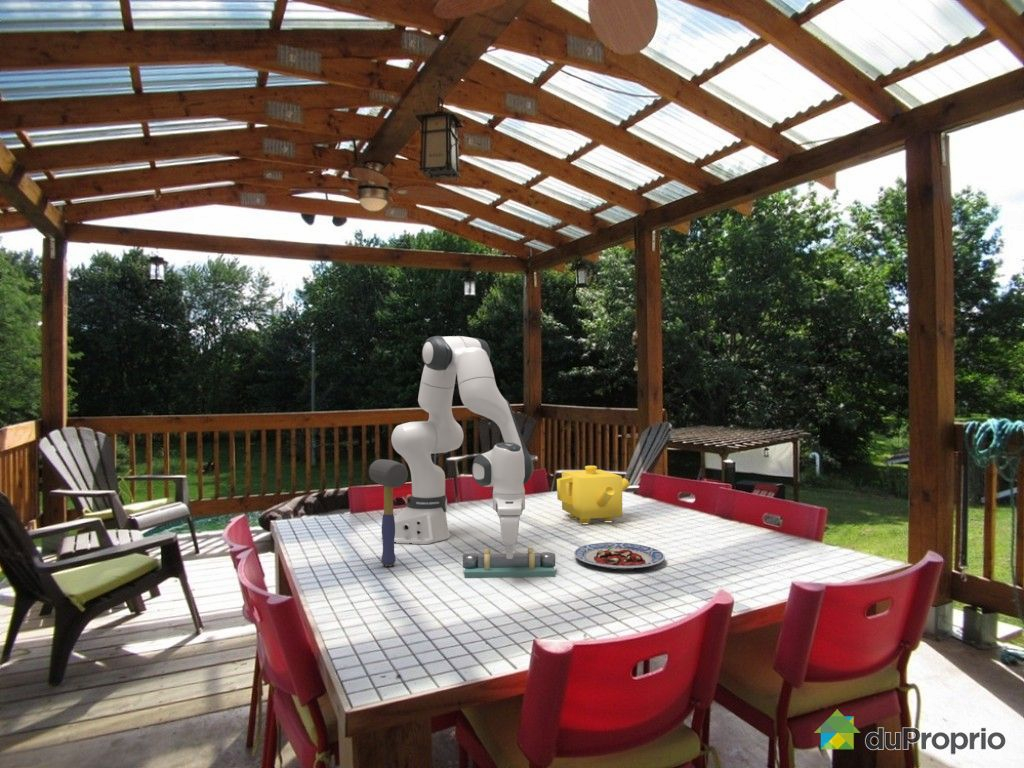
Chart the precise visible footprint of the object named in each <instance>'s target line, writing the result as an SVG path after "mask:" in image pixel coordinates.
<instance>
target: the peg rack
mask: <svg viewBox="0 0 1024 768" xmlns="http://www.w3.org/2000/svg"><path fill="white" fill-rule="evenodd" d="M527 553H530V554H529V567H515V568H490V554H491V548H489V547H487V548H486V547H485V548H484V553H483V554H484V568H475V569H465V568H464V572H463V573H464V575H463V576H464V579H477V578H478V579H481V578H482V579H483V578H487V579H488V578H494V579H495V578H539V577H540V578H541V577H543V578H544V577H545V578H549V577H550V578H551V577H556V571H555V567H551V568H544V567H535V554H534V553H535V552H534V548H533V547H527Z"/></svg>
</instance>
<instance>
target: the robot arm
mask: <svg viewBox="0 0 1024 768" xmlns="http://www.w3.org/2000/svg"><path fill="white" fill-rule="evenodd" d="M490 357H491V349H490V346H489V344H488V342H487V341H486V340H484V339H481V338H478V337H469V336H463V335H462V336H461V335H456V336H455V335H452V336H451V335H450V336H449V335H448V336H442V335H435V336H431V337H428V338H427V339H426V340H425V341H424V343H423V345H422V349H421V359H422V361H423V364H424V366H423V370H422V374H421V380H420V384H419V391H418V397H417V398H418V399H417V402H418V405H419V407H420V408H421V409H422V410H423V411H425V412H426V413H428V420H421V421H409V422H405V423H401V424H398V425H396V426H395V428H394V429H393V431H392V433H391V445H392V448H393V449H394V451H395V452H396V453H397V454H399V455H400V456H401V457H402V458H403V459H404V460H405V462H406V463H407V465H408V467H409V468H408V469H409V470H410V471H409V472H410V477H411V494H407V495H406V497H405V506H406V507H404V508H403V509H402V510H400V511H399V512H398V513H397V514H395V515H394V520H395V538H394V542H396V543H395V544H409V543H412V544H415V545H419V544H420V545H429V544H433V543H436V542H440V541H444V540H445V541H446V540H448V539H449V538H450V537H451V533H450V530H449V526H448V520H447V510H448V497H447V494H446V474H445V471H444V470H443V469H442V467H440V466H439V465H438V464H436V463H435V464H434V462H433V460H432V454H443V453H449V452H452V451H455V450H458V449H459V448H460V447H461V446H462V444H463V441H464V436H465V435H464V431H463V428H462V426H461V425H460V423H458V422H457V421H456V419H455V418H454V415H453V409H452V407H453V398H454V397H453V396H454V391H455V386H456V385H455V384H456V378H457V385H458V392H459V396H460V400H461V402H462V405H464V407H465V408H466V409H467V410H469V411H470V412H472V413H474V414H476V415H480V416H483V417H485V418H487V419H489V420H491V421H493V422H494V423H495V424H496V425H497V426H498V428H499V430H500V433H501V436H502V439H503V441H504V442H498V443H496V444H495V445H494V446H493V448H492V449H490V450H488V451H486V452H484V453H481V454H478V455H476V456H475V458H474V460H473V462H472V465H471V476H472V478H473V480H474V482H475V483H476V484H478V486H481V487H485V488H489V487H492V488H493V489H492V510H493V511H495V513H496V514H497V516H498V518H499V523H500V533H501V539H502V544H503V545H504V546H505V554H506V558H507V559H512V558H513V553H514V546H516V545H517V544H518V540H519V539H518V538H519V537H518V536H519V529H520V527H519V526H520V519H521V515H522V514H523V511H524V510H525V509H526V489H525V486H524V485H525V484H527V483H528V481H530V479H531V477H532V476H533V473H534V469H535V468H534V462H533V461H534V460H533V459H532V457H531V455H530V453H529V451H528V449H527V447H526V444H525V441H524V440H523V436H522V433H521V431H520V427H519V424H518V422H517V419H516V416H515V413H514V410H513V408H512V406H511V403H510V402H509V400H507V399H506V398H505V397H504V396H503V395H502V394H501V392H500V390H499V388H498V386H497V383H496V378H495V374H494V370H493V366H492V363H491V361H490V360H491V359H490ZM382 540H383V539H382V538H381V541H382ZM412 544H411V545H412Z"/></svg>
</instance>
